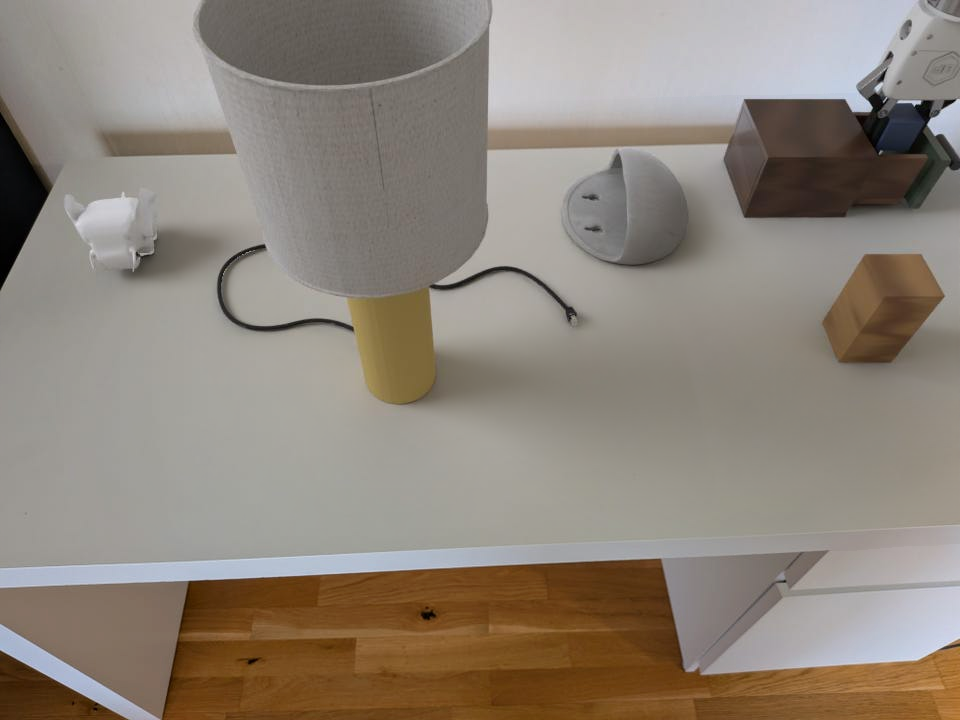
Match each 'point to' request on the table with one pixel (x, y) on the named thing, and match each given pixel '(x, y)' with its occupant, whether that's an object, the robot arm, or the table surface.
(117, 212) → the elephant figurine
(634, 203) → the planter
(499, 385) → the table surface
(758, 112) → the cabinet
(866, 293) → the stand
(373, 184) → the table lamp
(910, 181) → the drawer
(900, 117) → the block
